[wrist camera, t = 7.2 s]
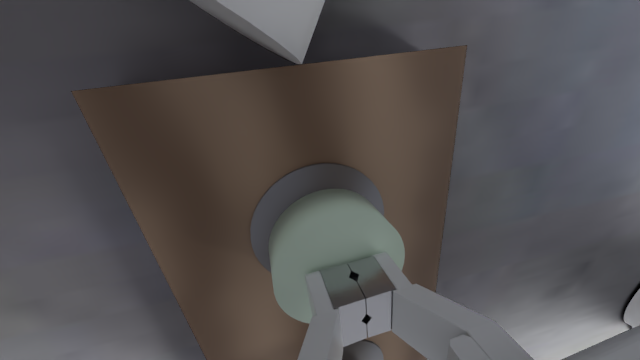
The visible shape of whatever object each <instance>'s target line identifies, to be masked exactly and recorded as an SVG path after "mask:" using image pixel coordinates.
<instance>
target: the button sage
mask: <svg viewBox="0 0 640 360" xmlns="http://www.w3.org/2000/svg"><path fill="white" fill-rule="evenodd" d="M382 252H386V253H388V255H389V256H390V257H391V258H392V260H393V261H394V262H395V263H396V265H397V266H398V267H399V269H400V270H401V271H402V268H403V265H404V259H405V249H404V244H403V241H402V238H401V236H400V235H399V233H398V231H397V230H396V229H395V228H394V227H393V226H392V225H391V224H390V223H389V222H388V221H387V219H386V218H385V217H384V216H383V215H382V214H381V213H380V212H379V211H378V210H377V209H376V208H375V207H374V206H373V205H372V204H371V203H370V202H369V201H368V200H367V199H366V198H365V197H363V196H362V195H360V194H358V193H356V192H353V191H350V190H346V189H325V190H320V191H316V192H313V193H311V194H308V195H306V196H304V197H302V198H300V199H298V200H297V201H296V202H294V203H293V204H291V205H290V206H289V207H288V208H287V209H286V210H285V211H284V212H283V213H282V214H281V215H280V217H279V218H278V220H277V221H276V223H275V225H274V227H273V229H272V231H271V234H270V238H269V257H270V265H271V274H272V282H273V290H274V295H275V298H276V301H277V303H278V304H279V306H280V307H281V308H282V310H283V311H284V312H285V313H287V314H288V315H289V316H291V317H292V318H294V319H296V320H298V321H301V322H305V323H309V324H310V321H311V318H312V317H313V315H312V311H311V307H310V302H309V297H308V291H307V285H306V280H305V274H308V273H312V272H316V271H319V270H322V269H326V268H330V267H334V266H338V265H342V264H346V263H348V262H352V261H355V260H358V259H362V258H365V257H369V256H372V255H375V254H379V253H382Z"/></svg>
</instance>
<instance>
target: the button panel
mask: <svg viewBox="0 0 640 360" xmlns="http://www.w3.org/2000/svg"><path fill="white" fill-rule="evenodd" d="M466 50H467V45H465V46H456V47H448V48H439V49H430V50H422V51H413V52H404V53H396V54H387V55H379V56H370V57H361V58H353V59H344V60H336V61H327V62H318V63H310V64H301V65H292V66H284V67H275V68H267V69H258V70H249V71H241V72H232V73H223V74H215V75H206V76H198V77H189V78H180V79H172V80H163V81H154V82H146V83H137V84H129V85H120V86H111V87H103V88H94V89H85V90H77V91H71V92H72V94H73V96H74V98H75V100H76V102H77V104H78V106H79V108H80V110H81V112H82V114H83V116H84V118H85V120H86V122H87V124H88V126H89V128H90V130H91V132H92V134H93V136H94V137H95V139H96V141H97V143H98V145H99V147H100V149H101V151H102V153H103V155H104V157H105V159H106V161H107V163H108V165H109V167H110V169H111V171H112V173H113V175H114V177H115V179H116V181H117V183H118V185H119V187H120V189H121V191H122V193H123V195H124V197H125V199H126V201H127V203H128V205H129V207H130V209H131V211H132V213H133V215H134V217H135V219H136V221H137V223H138V225H139V227H140V229H141V231H142V233H143V235H144V237H145V239H146V241H147V243H148V245H149V247H150V249H151V251H152V253H153V254H154V256H155V258H156V260H157V262H158V264H159V266H160V268H161V270H162V272H163V274H164V276H165V278H166V280H167V282H168V284H169V286H170V288H171V290H172V292H173V294H174V296H175V298H176V300H177V302H178V304H179V306H180V308H181V310H182V312H183V314H184V316H185V318H186V320H187V322H188V324H189V326H190V328H191V330H192V332H193V334H194V336H195V338H196V340H197V342H198V344H199V346H200V348H201V350H202V352H203V354H204V356H205V358H206V360H297V359H298V356H299V353H300V350H301V347H302V345H303V342H304V339H305V336H306V333H307V330H308V327H309V323H305V322H301V321H298V320H296V319H294V318H292V317H291V316H289V315H288V314H287V313H285V312H284V311H283V310H282V308H281V307H280V306H279V304H278V303H277V301H276V298H275V295H274V290H273V282H272V274H271V265H270V257H269V238H270V234H271V231H272V229H273V227H274V225H275V223H276V221H277V220H278V218H279V217H280V215H281V214H282V213H283V212H284V211H285V210H286V209H287V208H288V207H289V206H290V205H291V204H293V203H294V202H296V201H297V200H298V199H300V198H302V197H304V196H306V195H308V194H311V193H313V192H316V191H320V190H325V189H346V190H350V191H353V192H356V193H358V194H360V195H362V196H363V197H365V198H366V199H367V200H368V201H369V202H370V203H371V204H372V205H373V206H374V207H375V208H376V209H377V210H378V211H379V212H380V213H381V214H382V215H383V216H384V217H385V218H386V219H387V221H388V222H389V223H390V224H391V225H392V226H393V227H394V228H395V229H396V230H397V231H398V233H399V235H400V236H401V238H402V241H403V244H404V249H405V259H404V265H403V268H402V272H403V274H404V275H405V276H406V277H407V279H408V280H409V281H410V283H411V284H412V285H413V284H418V285H420V286H422V287H424V288H427V289H429V290H431V291H433V292H436V284H437V276H438V268H439V260H440V253H441V245H442V237H443V229H444V221H445V214H446V206H447V198H448V190H449V182H450V175H451V167H452V159H453V151H454V144H455V136H456V128H457V120H458V112H459V105H460V97H461V89H462V81H463V73H464V66H465V58H466ZM342 360H427V358H426V357H424V356H423V355H422V354H420V353H419V352H418V351H417V350H415V349H414V348H413V347H411V346H410V345H409V344H407V343H406V342H405V341H404V340H402V339H401V338H400V337H398V336H397V335H396V334H394V333H393V332H392V330H391V331H388V332H384V333H381V334H378V335H375V336H372V337H369V338H368V337H367V338H366V339H363V340H361V341H358V342H355V343H353V344H350V345H348V346H345V347H343V355H342Z"/></svg>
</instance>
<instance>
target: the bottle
mask: <svg viewBox="0 0 640 360" xmlns="http://www.w3.org/2000/svg"><path fill="white" fill-rule="evenodd" d="M189 1H191V2H192V3H194V4H195V5H197V6H198V7H200V8H201V9H203V10H204V11H206V12H207V13H209V14H210V15H212V16H213V17H215V18H216V19H218V20H220V21H221V22H223V23H224V24H226V25H227V26H229V27H231V28H232V29H234V30H235V31H237V32H239V33H240V34H242V35H244V36H245V37H247V38H248V39H250V40H252V41H254V42H255V43H257V44H259V45H261V46H262V47H264V48H266V49H268V50H269V51H271V52H273V53H275V54H277V55H279V56H281V57H283V58H284V59H286V60H289V61H291V62H293V63H296V64H302V63H303V60H304V57H305V54H306V52H307V49H308V46H309V43H310V41H311V38H312V35H313V32H314V30H315V27H316V24H317V21H318V19H319V16H320V13H321V10H322V8H323V5H324V2H325V0H189Z"/></svg>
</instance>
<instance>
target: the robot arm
mask: <svg viewBox="0 0 640 360" xmlns="http://www.w3.org/2000/svg"><path fill="white" fill-rule="evenodd" d="M305 280H306V285H307V291H308V297H309V302H310V307H311V311H312V315H313V317H312V318H311V321H310V324H309V327H308V330H307V333H306V336H305V339H304V342H303V345H302V347H301V350H300V353H299V356H298V359H297V360H342V355H343V347H345V346H348V345H350V344H353V343H355V342H358V341H361V340H363V339H366V338H367V337H368V338H369V337H372V336H375V335H378V334H381V333H384V332H388V331H391V330H392V332H393V333H394V334H396V335H397V336H398V337H400V338H401V339H402V340H404V341H405V342H406V343H407V344H409V345H410V346H411V347H413V348H414V349H415V350H417V351H418V352H419V353H420V354H422V355H423V356H424V357H426V358H427V359H428V360H534V359H533V358H532V357H531V356H530V355H529V354H528V353H527V352H526V351H525V350H524V349H523V348H522V347H521V346H520V345H519V344H518V343H517V342H516V341H515V340H514V339H513V338H512V337H511V336H510V335H509V334H508V333H507V332H506V331H505V330H504V329H503V328H502V327H501V326H500V325H499V324H498V323H497V322H496V321H494V320H492V319H490V318H488V317H486V316H484V315H481V314H479V313H477V312H475V311H473V310H471V309H469V308H467V307H465V306H462V305H460V304H458V303H456V302H454V301H452V300H450V299H448V298H446V297H443V296H441V295H439V294H437V293H435V292H433V291H431V290H429V289H427V288H424V287H422V286H420V285H418V284H413V285H412V284H411V283H410V281H409V280H408V279H407V277H406V276H405V275H404V274H403V272H402V271H401V270H400V269H399V267H398V266H397V265H396V263H395V262H394V261H393V260H392V258H391V257H390V256H389V255H388V253H386V252H382V253H379V254H375V255H372V256H369V257H365V258H362V259H358V260H355V261H352V262H348V263H346V264H342V265H338V266H334V267H330V268H326V269H322V270H319V271H316V272H312V273H308V274H305ZM624 321H625V323H627V324H629V325H631V326H632V329H630V330H627V331H625V332H623V333H621V334H618V335H616V336H614V337H612V338H609V339H607V340H605V341H602V342H600V343H598V344H596V345H593V346H591V347H589V348H587V349H584V350H582V351H580V352H578V353H575V354H573V355H571V356H569V357H566V358H564V359H562V360H640V289H639V290H638V291H637V293H636V294H635V295H634V297H633V298H632V300H631V301H630V303H629V305H628V306H627V308H626V311H625V314H624Z"/></svg>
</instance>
